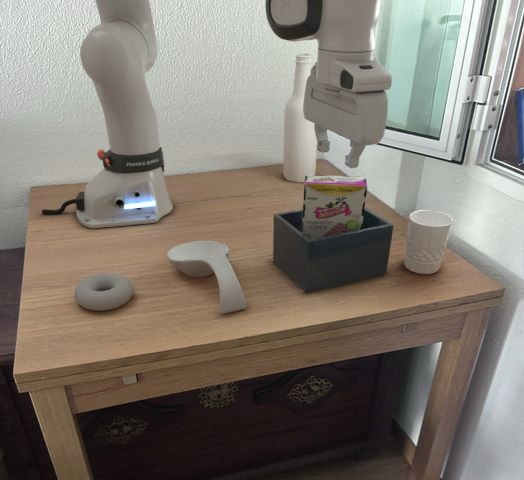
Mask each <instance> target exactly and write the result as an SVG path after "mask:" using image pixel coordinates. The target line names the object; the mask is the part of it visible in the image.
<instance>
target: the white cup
mask: <svg viewBox="0 0 524 480" xmlns="http://www.w3.org/2000/svg"><path fill="white" fill-rule="evenodd" d="M453 222H454V218H453V217H452V216H451V215H449V214H448V213H445V212H443V211H438V210H434V209H433V210H432V209H420V210H415V211H412V212H411V213H409V216H408V223H407V231H406V238H405V239H406V240H405V255H404V260H403V261H404V262H403V264H404V267H405V268H406V269H407V270H408V271H410V272H412V273H416V274H420V275H421V274H422V275H431V274H434V273H437V272H439V270H440V268H441V264H442V260H443V257H444V256H445V251H446V248H447V245H448V241H449V237H450V234H451V231H452V226H453Z"/></svg>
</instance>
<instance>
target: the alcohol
mask: <svg viewBox="0 0 524 480" xmlns="http://www.w3.org/2000/svg"><path fill="white" fill-rule="evenodd" d="M312 58H313V55H312V54H310V53H297V54H295V70H294V79H293V88H292V94H291V96H290V97H289V99H288V100H287V102H286V103H285V108H284V117H283V118H284V120H283V121H284V123H283V163H282V165H283V167H282V168H283V169H282V175H283V177H284V179H285V180H287V181H288V182H292V183H305V175H316V169H317V151H318V150H317V138H316V134H315V130H314V126H315V123H313V122H311V121H309V120H306V119H305V117H304V114H303V103H304V94H305V87H306V82H307V79H308V77H309V76H310V72H311V68H312V63H313V60H312Z"/></svg>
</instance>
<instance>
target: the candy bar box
mask: <svg viewBox="0 0 524 480" xmlns="http://www.w3.org/2000/svg"><path fill="white" fill-rule="evenodd" d="M367 182H368V181H367V178H366V177H365V176H348V175H346V176H345V175H326V174H325V175H324V174H323V175H322V174H315V175H305V182H303V183H304V186H303V200H302V209H303V213H302V230H301V233H302V234H304V235H305V236H306V237H307V238H309V239H310V240H311V239H316V238H321V237H326V236H331V235H336V234H341V233H346V232H351V231H356V230H361V229H362V224H363V216H364V209H365V208H366V199H367V194H368V192H367V191H368V183H367Z"/></svg>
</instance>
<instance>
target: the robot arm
mask: <svg viewBox="0 0 524 480" xmlns="http://www.w3.org/2000/svg"><path fill="white" fill-rule="evenodd" d="M94 1H95V3H96V8H97V11H98V15H99V20H100V23H99V24H97V25H96V26H94V27H93V28H92V29H91V30H89V32H88V33H87V34H86V35H85V38H84V39H83V41H82V43H81V45H80V50H79V56H80V62H81V66H82V68H83V70H84V72H85V73H86V75H87V76H88V77H89V78H90V79H91V81H92V83H93V86H94V89H95V92H96V95H97V97H98V99H99V102H100V106H101V108H102V112H103V116H104V121H105V126H106V133H107V139H108V144H109V145H108V146H109V149H108V150H107V151H105V150H104V149H98V150H97V152H96V156H97V157H98V159H99V160H100V161H102V165H103V168H102V169H101V170H100V171H99V172H98V173H97V174H96V175H95V176H94V177H93V178H92V179H91V180H90V181H89V182H88V183H87V184H86V186H85V187H84V191H78V193H77V195H76V197H75V198H73V199H69V200H66V201H64V202H63V203H62V204H61V206H60V208H58V209H43V208H42V209H41V213H42V214H43V215H59V214H62V213H64V212H65V211H66V208H67V207H68V206H71V205H73V204H75V206H76V211H75V212H76V213H75V214H76V218H77V221H78V222H79V223H80V224H81V225H82V226H84V227H86V228H89V229H103V228H112V227H113V228H114V227H124V226H125V227H126V226H133V225H134V226H135V225H145V224H146V225H147V224H154V223H158V222H159V221H160V220H161V218H162V217H164V216H166V215H168V214H169V213H171V212H172V211H173V209H174V205H173V202H172V200H171V197H170V194H169V190H168V187H167V186H168V185H167V182H166V178H165V159H164V151H163V147H161V144H160V134H159V125H158V117H157V110H156V108H155V106H154V104H153V101H152V100H151V96H150V92H149V89H148V86H147V81H146V73H148V72H149V71H150V70H151V69H152V68H153V67H154V65H155V63H156V61H157V58H158V54H159V42H158V37H157V35H156V32H155V26H154V20H153V13H152V8H151V3H150V0H94ZM264 4H265V5H264V6H265V7H264V8H265V15H266V16H265V17H266V20H267V23H268V25H269V27H270V29H271V31H272V32H273V34H274V35H276V36H277V38H279V39H281V40H284V41H288V42H295V43H296V42H304V41H314V40H316V41H317V59H316V62H315V63H314V64H313V66H312V67H311V72H310V76H309V77H308V79H307V82H306V87H305V94H304V103H303V114H304V117H305V119H306V120H309V121H311V122H313V123H315V126H314V130H315V134H316V138H317V151H318V152H320V153H322V154H323V153H329V152H330V146H331V141H330V140H329V136H328V131H330V132H332V133H334V134H336V135H339V136H340V137H342V138H344V139H347V140H349V147H350V151H349V153H348V154H346V155H345V156H344V157H345V159H344V160H345V161H344V165H345V166H346V167H347V168H349V169H356V168H358V167H359V163H360V157H361V156H362V154H363V152H364V150H365V149H366V146H374V145H378V144H380V142H381V141H382V139H383V138H384V136H385V131H386V125H387V124H386V123H387V120H388V119H387V118H388V111H389V98H388V94H387V92H386V91H388V90H390V89H391V88H392V83H393V76H392V74H391V72H390V71H388V70H387V68H386V67H384V66H383V65H382V64H381V62H380V61H379V59H378V58H376V49H377V48H376V47H377V44H376V37H375V36H376V35H375V33H376V28H377V24H378V21H379V19H380V13H381V4H382V0H265V3H264Z"/></svg>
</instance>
